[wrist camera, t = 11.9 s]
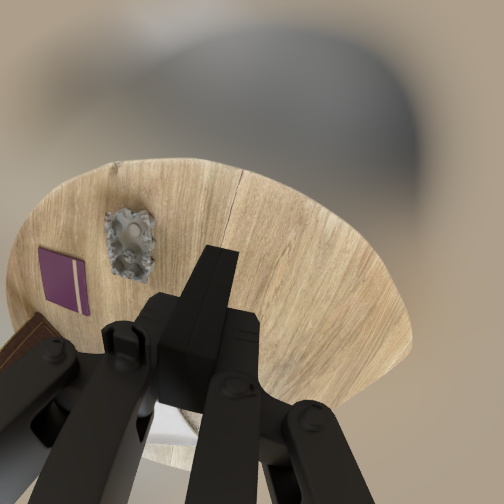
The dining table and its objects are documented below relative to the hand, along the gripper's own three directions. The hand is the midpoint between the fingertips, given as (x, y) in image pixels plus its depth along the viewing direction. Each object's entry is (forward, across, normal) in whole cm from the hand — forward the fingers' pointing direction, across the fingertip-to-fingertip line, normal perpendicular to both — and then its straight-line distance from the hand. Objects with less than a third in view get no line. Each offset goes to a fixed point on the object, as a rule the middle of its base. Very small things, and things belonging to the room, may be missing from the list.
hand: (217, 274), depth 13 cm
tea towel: (+25, -32, -24) cm, 47 cm away
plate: (+25, -11, -60) cm, 66 cm away
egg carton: (+26, -15, -12) cm, 32 cm away
